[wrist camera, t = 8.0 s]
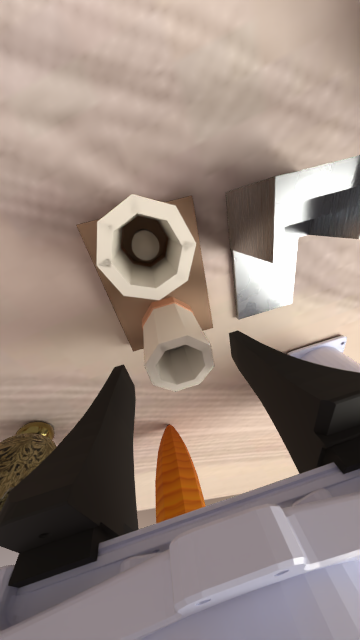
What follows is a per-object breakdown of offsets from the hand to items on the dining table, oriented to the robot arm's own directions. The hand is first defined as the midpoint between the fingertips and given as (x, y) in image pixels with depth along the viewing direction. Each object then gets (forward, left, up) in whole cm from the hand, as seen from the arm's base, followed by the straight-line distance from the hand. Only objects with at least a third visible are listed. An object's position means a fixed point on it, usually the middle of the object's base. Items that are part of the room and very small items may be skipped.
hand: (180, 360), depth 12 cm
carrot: (-16, +4, -7) cm, 18 cm away
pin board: (+4, 0, -7) cm, 7 cm away
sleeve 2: (0, 0, -5) cm, 5 cm away
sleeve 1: (+7, 0, -5) cm, 9 cm away
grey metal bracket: (+3, -10, -6) cm, 12 cm away
